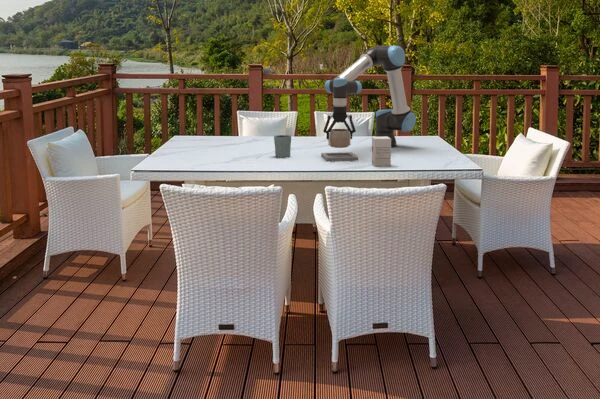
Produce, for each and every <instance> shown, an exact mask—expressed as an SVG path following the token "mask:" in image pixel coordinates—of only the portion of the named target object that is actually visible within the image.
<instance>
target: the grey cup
mask: <svg viewBox="0 0 600 399" xmlns="http://www.w3.org/2000/svg"><path fill="white" fill-rule="evenodd" d="M273 140H274V149H275V150H274V155H275V158H278V157H279V159H282V158H284V159H286V158H287V157H288V158H290V157H291V145H292V135H289V134H288V135H287V134H286V135H285V134H279V135H274V136H273Z"/></svg>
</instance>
